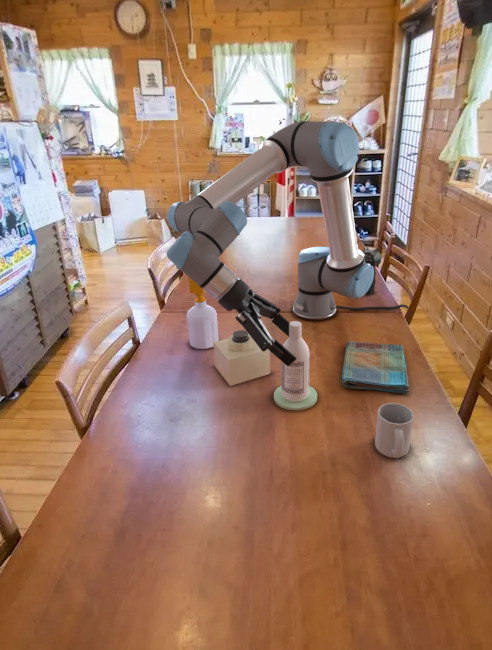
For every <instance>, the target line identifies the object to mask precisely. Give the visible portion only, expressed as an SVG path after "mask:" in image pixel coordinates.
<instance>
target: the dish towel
mask: <svg viewBox="0 0 492 650" xmlns="http://www.w3.org/2000/svg"><path fill="white" fill-rule="evenodd" d="M405 357H406V356H405V350H404V346H403V344H392V343H379V342H378V343H377V342H366V341H365V342H364V341H363V342H362V341H353V340H349V341H347V342H346V346H345V352H344V359H343V366H342V375H341V384H342V385H343V387H345V388H347V389H356V390H369V391H370V390H371V391H380V392H388V393H395V394H403V395H406V394H407V393H409V392H410V389H409V388H410V385H409V377H408V369H407V364H406V358H405Z"/></svg>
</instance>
